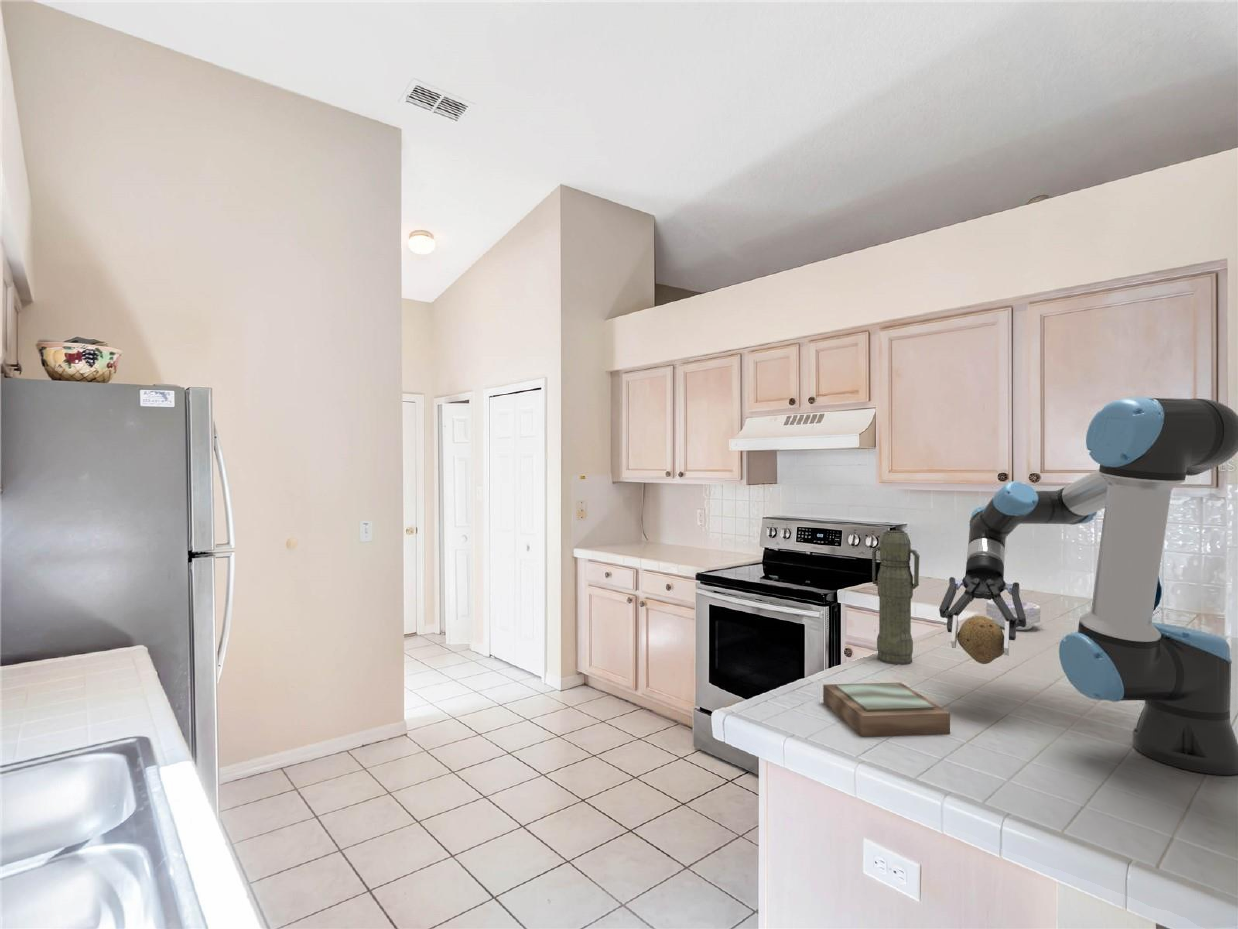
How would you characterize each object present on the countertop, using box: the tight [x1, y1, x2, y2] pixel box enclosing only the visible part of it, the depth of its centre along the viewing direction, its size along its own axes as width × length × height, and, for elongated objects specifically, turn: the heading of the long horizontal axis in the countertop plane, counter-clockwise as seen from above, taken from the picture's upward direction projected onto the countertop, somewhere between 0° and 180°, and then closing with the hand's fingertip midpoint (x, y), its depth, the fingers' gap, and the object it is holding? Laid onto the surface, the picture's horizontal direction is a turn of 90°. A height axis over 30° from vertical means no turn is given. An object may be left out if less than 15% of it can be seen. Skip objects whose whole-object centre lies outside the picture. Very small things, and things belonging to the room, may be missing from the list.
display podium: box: [822, 681, 951, 738], centre depth 133 cm, size 18×18×4 cm
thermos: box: [871, 529, 920, 666], centre depth 173 cm, size 9×12×35 cm
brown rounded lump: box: [957, 615, 1004, 665], centre depth 136 cm, size 9×9×10 cm
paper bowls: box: [985, 599, 1041, 631], centre depth 211 cm, size 15×15×8 cm
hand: (979, 648), depth 133 cm, fingers closed on brown rounded lump, 9 cm apart
